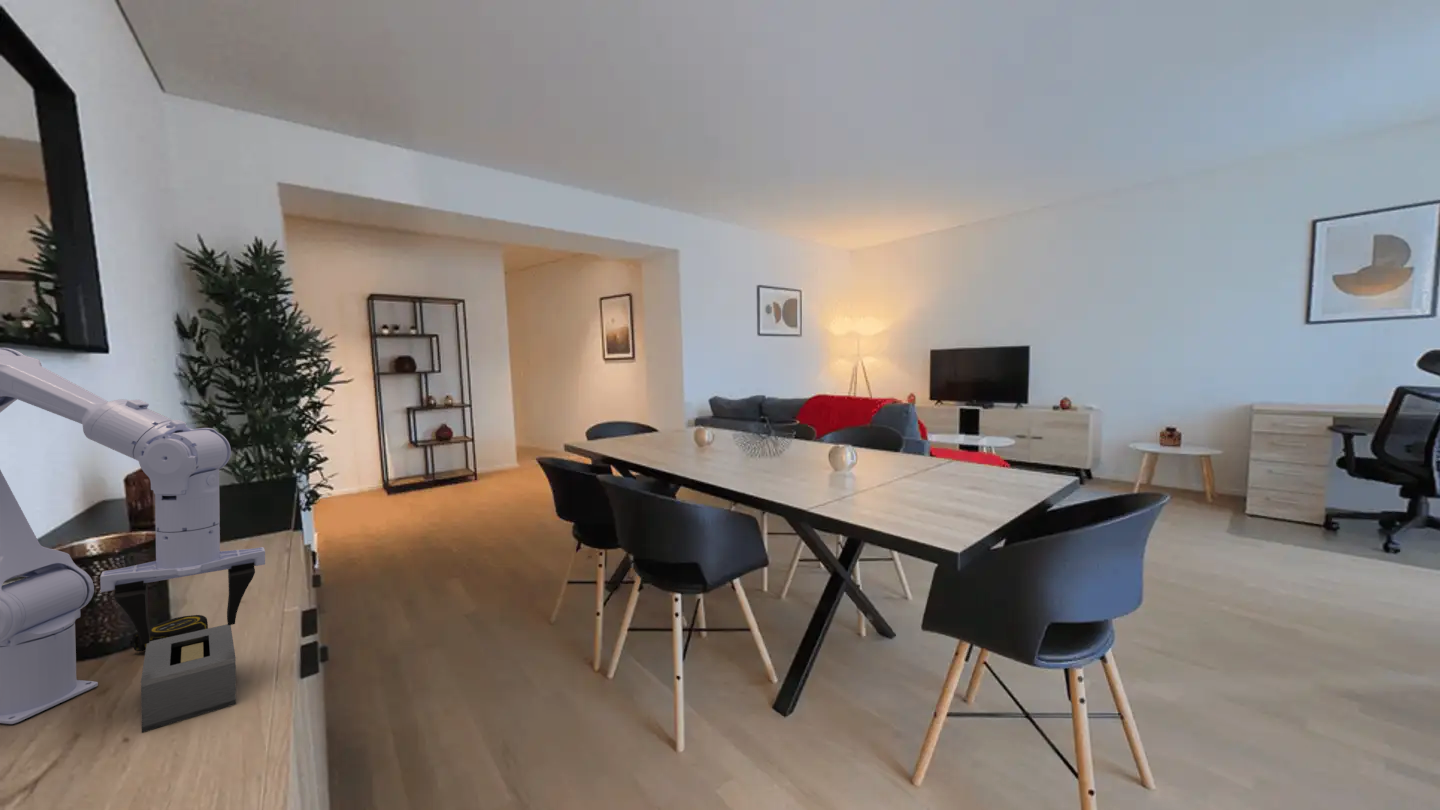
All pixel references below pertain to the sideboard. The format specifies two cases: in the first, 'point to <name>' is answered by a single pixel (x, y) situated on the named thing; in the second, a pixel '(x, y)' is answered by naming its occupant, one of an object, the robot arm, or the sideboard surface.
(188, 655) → the wooden rectangular block
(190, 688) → the coin box
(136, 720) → the sideboard surface
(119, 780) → the sideboard surface
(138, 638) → the tape measure
